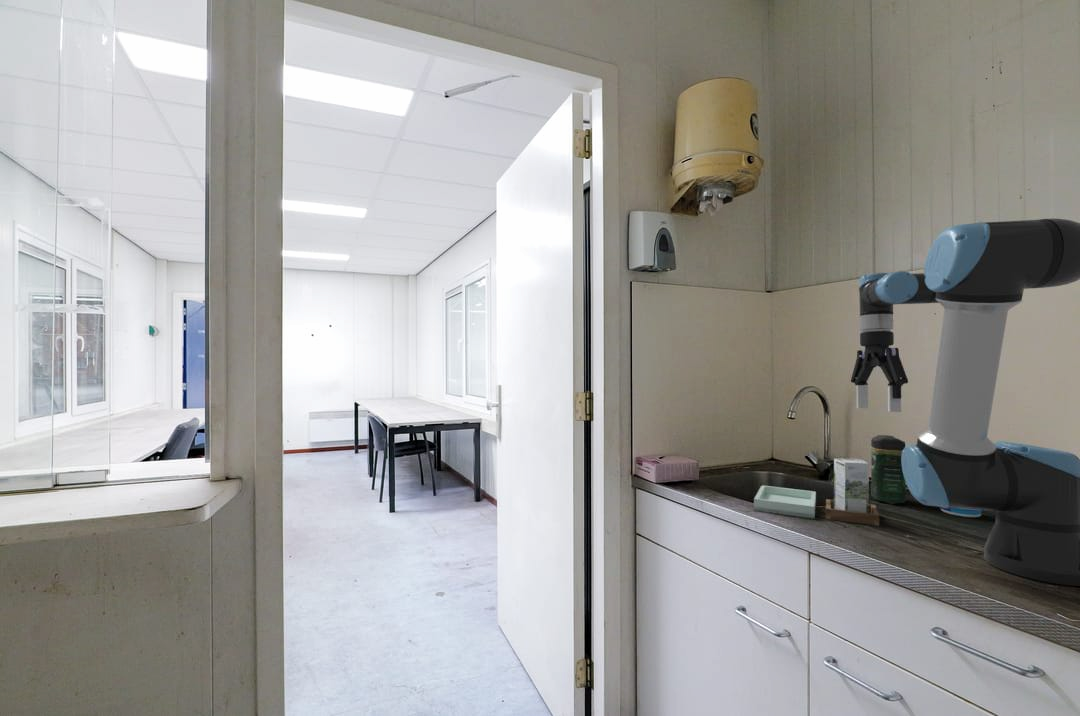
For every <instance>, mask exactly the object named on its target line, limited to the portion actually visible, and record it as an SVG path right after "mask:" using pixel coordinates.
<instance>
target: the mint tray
mask: <svg viewBox="0 0 1080 716" xmlns="http://www.w3.org/2000/svg"><path fill="white" fill-rule="evenodd" d="M816 504H817V492H816V491H813V490H806V489H805V490H804V489H797V488H796V489H795V488H789V487H788V488H787V487H780V486H771V485H770V486H769V485H764V484H763V485H761V486H760V488H759V489H758V491H757V493H756V495H755V496H754V498H753V511H757V512H763V513H770V512H772V514H777V513H778V515H785V516H791V517H792V516H793V517H798V518H799V517H801V518H807V519H813V520H815V517H816V516H815V515H816V506H817V505H816Z"/></svg>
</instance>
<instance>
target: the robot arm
mask: <svg viewBox="0 0 1080 716" xmlns="http://www.w3.org/2000/svg"><path fill="white" fill-rule="evenodd" d="M1079 280H1080V222H1078V221H1074V220H1070V219H1066V218H1065V219H1064V218H1042V219H1041V218H1039V219H1025V220H1007V221H1005V220H1004V221H987V222H986V221H985V222H984V221H983V222H982V221H978V222H972V223H964V224H957V225H952V226H950V227H948V228H946V229H945V230H944V231H942V232H941V233H940V234H938V236H937V238H935V240H934V241H933V243H932V245H931V246H930V249H929V251H928V254H927V255H926V260H925V264H924V268H923V272H920V273H919V272H918V273H910V272H907V271H904V270H899V271H898V270H897V271H892V272H876V273H875V272H874V273H868V274H865V275H864V274H863V276H861V277H860V278H859V286H858V292H859V330H860V331H861V332H860V334H859V344H860V346H861V347H864V349H863V350H862V349H861V350H857V351H856V360H855V364H854V366H853V367H854V368H853V371H852V374H851V379H850V382H851V384H852V383H853V384H854V385H855V387H856V393H855V394H856V409H869V383H868V380H869V378H870V376H871V374H872V372H873V370H874V368H877V367H879V368H880V369H881V370H882V373H883V374H884V376H885V378H886V380H887V381H888V384H887V412H889V413H891V412H892V413H897V412H898V413H899V412H900V413H902V387H903V385H907V384H908V383H909V380H908V377H907V374H906V371H905V369H904V368H905V367H904V366H903V363H902V360H901V357H900V353H899V352H900V351H899V348H898V347H891V346H893V345H894V343H895V341H894V339H895V337H894V332H893V331H892V330H893V329H894V305H920V304H939V305H941V306H942V307H943V309H944V311H943V321H942V327H941V334H940V341H939V347H938V358H937V363H936V370H935V371H936V372H935V378H934V386H933V394H932V399H931V402H932V403H931V408H930V416H929V422H928V423H929V424H928V427H927V428H925V429H923V430H921V431H920V432H919V433H918V434H917V441H916V445H915V444H910V445H905V448H904V450H903V451H902V456H901V463H902V471H903V475H904V478H905V481H906V488H908V491H909V492H910V494H911V495H912V496H913V498H914V499H915V500H916V501H918V502H919V503H920V504H922V505H924V506H931V507H939V508H941V507H943V508H948V507H949V508H964V509H979V510H981V511H995V521H994V523H993V526H992V528H991V531H990V532H989V533H990V534H989V535H988V537H987V539H986V542H985V543H984V548H983V558H984V561H985V562H987V563H988V564H989V565H991V566H992V567H995V568H997V569H999V570H1001V571H1005V572H1008V573H1010V574H1014V575H1016V576H1019V577H1024V578H1027V579H1030V580H1031V579H1032V580H1036V581H1039V582H1044V583H1049V584H1050V583H1051V584H1056V585H1064V586H1071V587H1072V586H1074V587H1080V458H1079V456H1077V455H1076V454H1074V453H1071V452H1068V451H1066V450H1065V451H1063V450H1060V449H1054V448H1047V447H1043V446H1036V445H1030V444H1024V443H1017V442H1011V441H1010V442H1009V441H1002V440H998V441H995V442H992V440H990V438H989V437H988V433H989V427H990V421H991V414H992V409H993V402H994V398H995V391H996V384H997V378H998V374H999V367H1000V360H1001V355H1002V347H1003V344H1004V337H1005V331H1006V324H1007V319H1008V314H1009V313H1008V312H1009V311H1010V309H1012V308H1014V307H1015V306H1017V305H1020V304H1021V303H1022V301H1023V296H1024V295H1023V294H1024V290H1027V289H1028V290H1029V289H1044V288H1045V289H1046V288H1053V287H1054V288H1055V287H1056V288H1057V287H1061V286H1064V285H1069V284H1072V283H1074V282H1078V281H1079Z"/></svg>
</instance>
